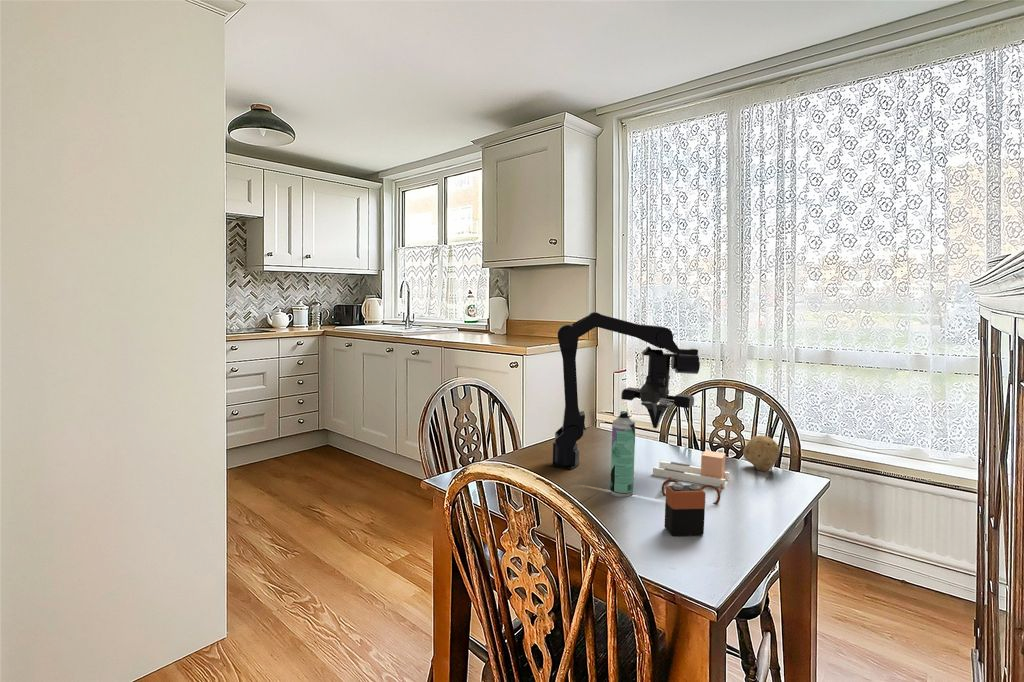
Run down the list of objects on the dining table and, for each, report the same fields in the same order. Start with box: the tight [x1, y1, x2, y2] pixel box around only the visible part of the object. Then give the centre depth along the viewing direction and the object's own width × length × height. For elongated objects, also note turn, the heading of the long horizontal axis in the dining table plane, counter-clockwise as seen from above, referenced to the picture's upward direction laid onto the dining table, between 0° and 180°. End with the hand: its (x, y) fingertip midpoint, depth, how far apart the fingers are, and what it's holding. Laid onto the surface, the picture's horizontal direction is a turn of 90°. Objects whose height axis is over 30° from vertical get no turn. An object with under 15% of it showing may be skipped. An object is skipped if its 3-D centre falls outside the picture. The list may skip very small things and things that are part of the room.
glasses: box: [661, 477, 723, 505], centre depth 133 cm, size 13×13×5 cm
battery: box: [664, 482, 706, 537], centre depth 111 cm, size 4×7×10 cm, turn 95°
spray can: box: [609, 410, 636, 498], centre depth 132 cm, size 6×6×20 cm
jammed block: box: [700, 450, 727, 479], centre depth 141 cm, size 5×5×7 cm
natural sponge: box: [742, 434, 780, 472], centre depth 151 cm, size 9×9×10 cm
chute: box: [652, 460, 731, 489], centre depth 144 cm, size 18×7×3 cm, turn 60°
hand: (655, 428), depth 151 cm, fingers closed
